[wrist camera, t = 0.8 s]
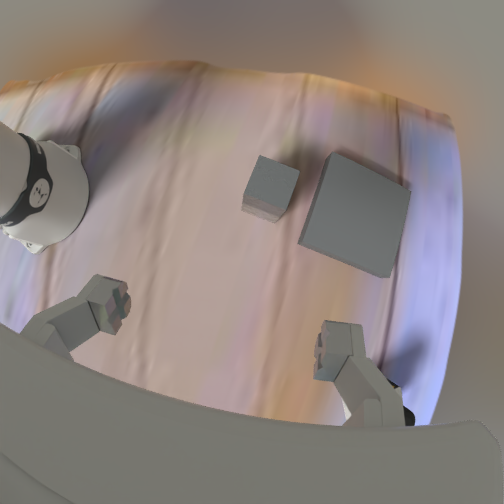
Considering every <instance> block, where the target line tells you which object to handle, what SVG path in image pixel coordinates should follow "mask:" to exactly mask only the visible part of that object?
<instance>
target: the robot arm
mask: <svg viewBox="0 0 504 504" xmlns="http://www.w3.org/2000/svg"><path fill="white" fill-rule="evenodd" d="M68 151H69V152H68ZM88 196H89V184H88V179H87V175H86V173H85V171H84V169H83V167H82V164H81V151H80V148H79V147H77V146H75V145H57V144H56V143H54V142H53V141H51V140H48V141H47V142H46V141H39V142H36V141H35V140H34V139H32V138H31V137H29V136H26V135H24V134H22V133H16V132H15V131H13V130H12V129H10V128H9V127H8V126H6V125H5V124H3V123H2V122H1V121H0V229H3V228H4V229H3V233H4V234H6V235H9V237H10V238H12V239H15V240H19V241H20V242H21V243H22V244H23V245H24V246H25V247H26V248H27V249H28V250H29V251H30V252H31V253H33V254H36V255H37V254H40V253H41V252H42V251H43V250H44V249H45V248H46V247H47V246H49V245H51V244H54V243H57V242H59V241H61V240H63V239H65V238H66V237H68V236H69V235H70V234H71V233H72V232H73V231H74V230H75V228H76V227H77V226H78V224H79V223H80V221H81V219H82V217H83V215H84V212H85V210H86V206H87V202H88ZM31 244H32V245H31ZM127 290H128V286H127V283H126V282H124V281H120V280H117V279H113V278H110V277H105V276H102V275H98V274H96V275H94V276H93V277H92V278H91V280H90V281H89V282H88V283H87V284H86V286H85V287H84V288H83V289H82V290H81V292H80V293H79V294H78V295H77V297H71V298H69V299H67V300H65V301H63V302H61V303H59V304H57V305H55V306H52V307H50V308H48V309H46V310H44V311H42V312H40V313H38V314H36V315H34V316H33V317H32V318H31V320H30V321H29V322H28V323H27V325H26V326H25V327H24V329H23V330H22V331H21V333H20V334H19V333H17V332H15V331H13V330H12V329H10V328H8V327H7V326H5V325H3V324H2V323H0V504H503V466H502V455H501V449H500V445H499V442H498V441H497V439H496V438H495V436H494V435H493V434H492V433H491V432H490V431H489V429H488V428H487V427H486V426H485V425H484V424H483V423H482V422H481V421H479V420H467V421H460V422H453V423H444V424H433V425H421V426H405V418H404V409H403V401H402V398H401V397H400V395H399V394H398V393H397V392H396V390H395V389H394V388H393V387H392V385H391V384H390V383H389V382H388V380H387V379H386V378H385V376H384V375H383V374H382V373H381V371H380V370H379V369H378V368H377V367H376V365H375V364H374V363H373V362H372V360H371V359H370V358H366V351H365V343H364V335H363V327H362V325H360V324H352V323H344V322H336V321H328V320H324V322H323V324H322V326H321V333H319V334H318V337H317V340H316V344H315V351H314V357H315V358H316V362H315V364H314V376H313V379H315V380H322V381H330V382H334V385H335V386H336V388H337V390H338V392H339V393H340V395H341V397H342V399H343V401H344V402H345V404H346V406H347V408H348V410H349V411H350V413H351V416H350V417H349V419H348V420H347V421H346V422H345V423H344V424H343V425H342V426H332V425H319V424H308V423H298V422H290V421H282V420H275V419H268V418H261V417H255V416H250V415H244V414H239V413H234V412H229V411H224V410H220V409H215V408H211V407H206V406H202V405H198V404H194V403H190V402H187V401H183V400H179V399H176V398H172V397H169V396H165V395H162V394H159V393H155V392H152V391H149V390H146V389H143V388H140V387H137V386H134V385H131V384H128V383H126V382H123V381H120V380H117V379H115V378H112V377H110V376H107V375H104V374H102V373H99V372H97V371H95V370H92V369H90V368H87V367H85V366H83V365H80V364H78V363H76V362H74V359H73V358H72V356H71V354H70V353H69V352H70V351H72V350H73V349H75V348H76V347H78V346H79V345H81V344H82V343H84V342H85V341H86V340H88V339H89V338H91V337H92V336H94V335H95V334H97V333H98V332H99V331H102V332H106V333H109V334H112V335H116V334H117V332H118V330H119V329H120V327H121V325H122V321H121V320H122V319H124V318H126V317H127V316H128V314H129V312H130V308H131V298H130V296H129V295H128V293H127V292H126V291H127Z"/></svg>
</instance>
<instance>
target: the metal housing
mask: <svg viewBox="0 0 504 504" xmlns="http://www.w3.org/2000/svg"><path fill="white" fill-rule="evenodd" d="M299 174H300V171H299V170H296V169H294V168H291V167H289V166H286V165H284V164H281V163H279V162H276V161H274V160H271V159H269V158H266V157H263V156H261V155H259V158H258V160H257V163H256V165H255V167H254V170H253V172H252V175H251V177H250V180H249V182H248V184H247V187H246V189H245V192H244V195H243V202H242V208H241V211H243V212H246V213H249V214H251V215H254V216H256V217H259V218H262V219H264V220H267V221H269V222H272V223H274V224H275V222H276V221H277V220H278V219H279V218H280V217H281V216H282V214H283V213H284V212H285V211H286V209H287V207H288V204H289V201H290V198H291V196H292V193H293V190H294V187H295V185H296V182H297V179H298V176H299Z"/></svg>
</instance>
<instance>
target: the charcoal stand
mask: <svg viewBox="0 0 504 504" xmlns="http://www.w3.org/2000/svg"><path fill="white" fill-rule="evenodd" d="M410 195H411V191H410V190H408V189H406V188H404V187H402V186H401V185H399V184H397V183H395V182H393V181H391V180H389V179H388V178H386V177H384V176H382V175H380V174H378V173H376V172H374V171H372V170H370V169H368V168H366V167H364V166H362V165H360V164H358V163H356V162H354V161H352V160H350V159H348V158H345V157H343V156H341V155H339V154H337V153H335V152H332V153H331V154H330V155H329V156H328V158H327V159H326V162H325V165H324V168H323V171H322V174H321V177H320V180H319V183H318V186H317V189H316V192H315V195H314V198H313V201H312V204H311V206H310V209H309V212H308V215H307V218H306V221H305V224H304V227H303V229H302V232H301V235H300V238H299V241H298V244H299V245H301V246H304V247H306V248H309V249H311V250H314V251H316V252H319V253H321V254H324V255H326V256H329V257H331V258H334V259H336V260H339V261H341V262H343V263H346V264H348V265H351V266H353V267H356V268H358V269H360V270H363V271H365V272H368V273H370V274H372V275H375V276H377V277H380V278H390V275H391V271H392V268H393V265H394V261H395V257H396V254H397V250H398V247H399V243H400V239H401V235H402V231H403V227H404V223H405V218H406V214H407V209H408V205H409V200H410Z"/></svg>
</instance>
